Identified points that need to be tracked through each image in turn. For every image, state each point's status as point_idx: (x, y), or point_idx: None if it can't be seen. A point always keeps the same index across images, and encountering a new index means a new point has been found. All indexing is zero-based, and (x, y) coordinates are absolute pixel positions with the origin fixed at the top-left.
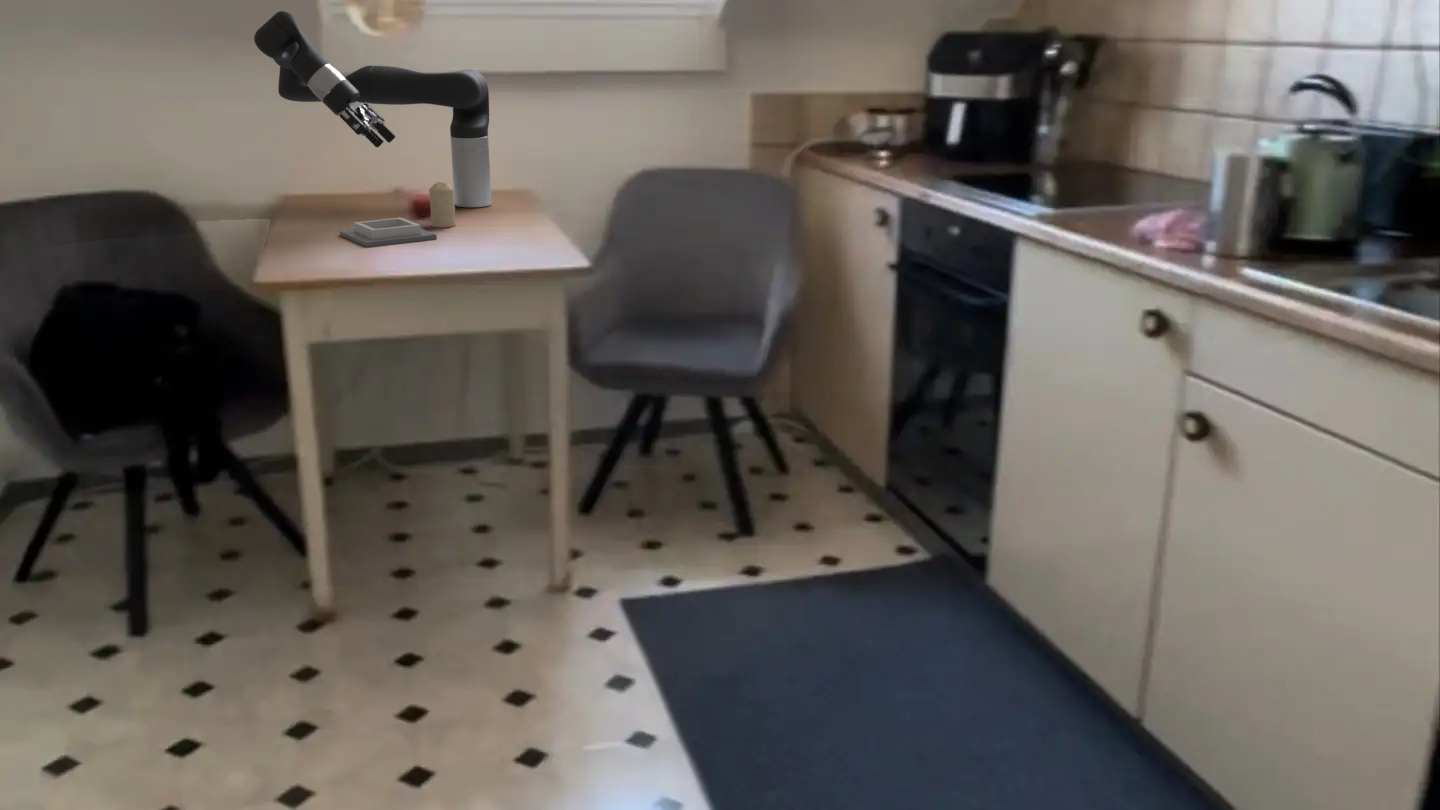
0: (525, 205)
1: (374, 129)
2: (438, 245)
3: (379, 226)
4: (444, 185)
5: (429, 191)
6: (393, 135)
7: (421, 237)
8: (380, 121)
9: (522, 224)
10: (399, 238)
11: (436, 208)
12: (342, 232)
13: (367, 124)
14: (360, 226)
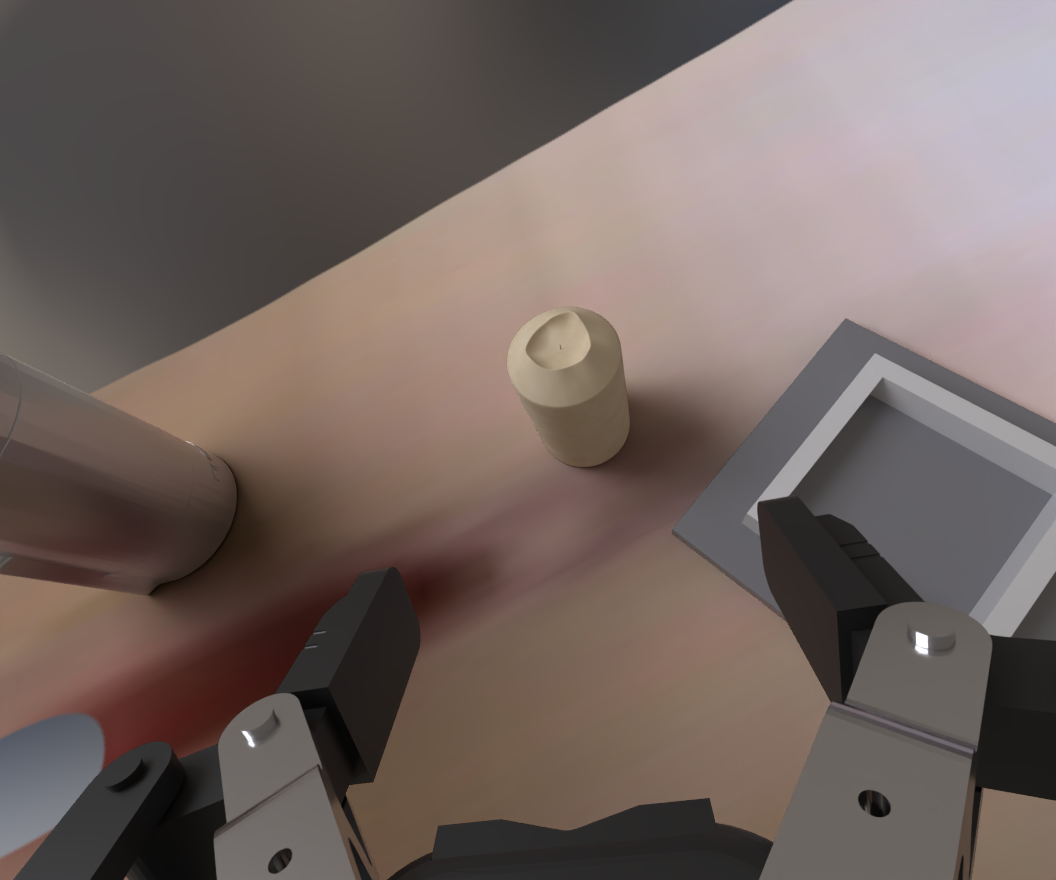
0: (189, 356)
1: (360, 829)
2: (944, 270)
3: None
4: (584, 316)
5: (596, 400)
6: (387, 574)
7: (905, 350)
8: (293, 736)
9: (498, 224)
10: (996, 401)
11: (626, 393)
12: None
13: (920, 673)
14: (1030, 603)
